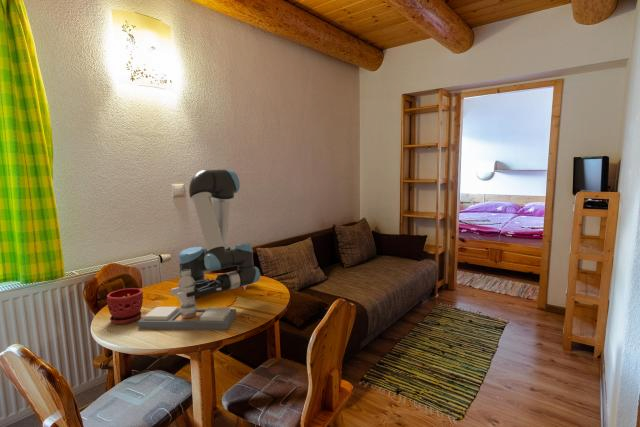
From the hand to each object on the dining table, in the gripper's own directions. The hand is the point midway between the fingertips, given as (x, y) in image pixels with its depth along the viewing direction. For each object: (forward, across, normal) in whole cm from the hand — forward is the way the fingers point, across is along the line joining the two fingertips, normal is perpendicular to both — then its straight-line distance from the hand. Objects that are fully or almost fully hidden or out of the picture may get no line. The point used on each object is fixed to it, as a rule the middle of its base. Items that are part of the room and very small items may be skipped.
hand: (174, 294), depth 133 cm
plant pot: (+13, +21, -14) cm, 28 cm away
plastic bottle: (-5, 0, -11) cm, 12 cm away
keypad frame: (-5, 0, -13) cm, 14 cm away
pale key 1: (+3, +8, -11) cm, 14 cm away
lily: (-45, +22, -14) cm, 52 cm away
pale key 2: (-13, -8, -11) cm, 19 cm away
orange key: (-5, 0, -13) cm, 14 cm away
